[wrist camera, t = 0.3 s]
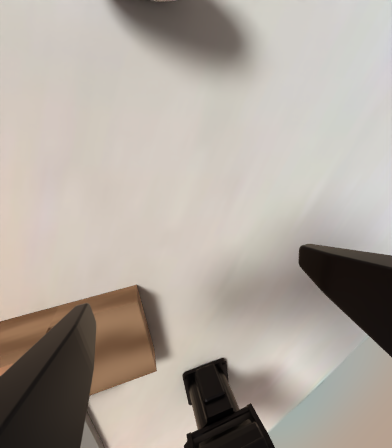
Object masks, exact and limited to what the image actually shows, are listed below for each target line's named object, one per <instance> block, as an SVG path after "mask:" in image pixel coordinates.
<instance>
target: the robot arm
mask: <svg viewBox="0 0 392 448" xmlns="http://www.w3.org/2000/svg"><path fill="white" fill-rule="evenodd" d="M299 265H300V267H301V268H302V269H303V271H304V272H305V273H306V274H307V275H308V276H309V277H310V278H311V279H312V281H313V282H314V283H315V284H316V285H317V286H318V287H319V288H320V290H321V291H322V292H323V293H324V294H325V295H326V296H327V297H328V298H329V299H330V300H331V301H333V302H334V303H335V304H336V305H337V306H338V307H339V308H340V309H341V310H342V311H343V312H344V313H345V314H346V315H347V316H348V317H350V318H351V319H352V320H353V321H354V322H355V323H356V324H357V325H358V326H359V327H360V328H361V329H362V330H363V331H364V332H365V333H367V334H368V335H369V336H370V337H371V338H372V339H373V340H374V341H375V342H376V343H377V344H378V345H379V346H380V347H381V348H383V349H384V350H385V351H386V352H387V353H388V354H389V355H390V356H391V357H392V256H391V255H384V254H377V253H370V252H363V251H356V250H349V249H342V248H335V247H328V246H321V245H314V244H306V245H302V246H301V247H300V248H299ZM95 343H96V320H95V317H94V314H93V312H92V309H91V306H90V304H89V303H84V304H80V305H77V306H75V307H74V308H73V309H72V310H71V311H70V312H69V313H68V314H66V315H65V316H64V317H63V318H62V319H61V320H60V321H59V322H58V323H57V324H56V325H55V326H54V327H53V328H51V329H50V330H49V331H48V332H47V333H46V334H45V335H44V336H43V337H42V338H41V339H40V340H39V341H38V342H36V343H35V344H34V345H33V346H32V347H31V348H30V349H29V350H28V351H27V352H26V353H25V354H24V355H23V356H21V357H20V358H19V359H18V360H17V361H16V362H15V363H14V364H13V365H12V366H11V367H10V368H9V369H8V370H6V371H5V372H4V373H3V374H2V375H1V376H0V448H80V447H81V442H82V436H83V430H84V424H85V418H86V413H87V407H88V401H89V395H90V389H91V384H92V378H93V371H94V360H95ZM183 380H184V385H185V390H186V394H187V399H188V403H189V405H192V407H193V411H194V415H195V419H196V424H197V428H198V430H197V431H194V432H192V433H191V432H190V433H188V434H187V442H186V444H185V445H184V448H275V447H274V445H273V443H272V441H271V439H270V437H269V435H268V433H267V431H266V429H265V428H264V426H263V424H262V422H261V420H260V419H259V417H258V415H257V413H256V412H255V410H254V408H253V406H252V404H251V403H250V404H248V405H247V406H246V407H244V408H242V409H239V407H238V405H237V402H236V400H235V397H234V395H233V393H232V390H231V388H230V386H229V383H228V374H227V365H226V361H225V359H224V358H222V359H220V360H217V361H214V362H212V363H209V364H206V365H204V366H201V367H198V368H196V369H193V370H190V371H188V372H185V373H184V374H183Z"/></svg>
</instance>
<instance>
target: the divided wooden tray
mask: <svg viewBox="0 0 392 448" xmlns="http://www.w3.org/2000/svg"><path fill="white" fill-rule="evenodd" d="M84 303H89V304H90V306H91V309H92V312H93V314H94V317H95V320H96V343H95V360H94V371H93V378H92V384H91V389H90V395H92V394H95V393H98V392H101V391H103V390H106V389H109V388H112V387H114V386H117V385H120V384H123V383H125V382H128V381H131V380H134V379H136V378H139V377H142V376H145V375H147V374H150V373H153V372H155V371H157V370H156V361H155V352H154V347H153V343H152V339H151V335H150V332H149V328H148V324H147V321H146V317H145V313H144V310H143V306H142V302H141V299H140V295H139V291H138V287H137V285H134V286H130V287H127V288H123V289H119V290H116V291H112V292H108V293H104V294H101V295H97V296H93V297H90V298H86V299H82V300H79V301H75V302H71V303H67V304H64V305H60V306H56V307H53V308H49V309H45V310H42V311H38V312H34V313H30V314H27V315H23V316H19V317H16V318H12V319H8V320H5V321H1V322H0V368H1V367H4V366H7V365H10V364H13V363H15V362H16V361H17V360H18V359H19V358H20V357H21V356H23V355H24V354H25V353H26V352H27V351H28V350H29V349H30V348H31V347H32V346H33V345H34V344H35V343H36V342H38V341H39V340H40V339H41V338H42V337H43V336H44V335H45V334H46V333H47V332H48V331H49V330H50V329H51V328H53V327H54V326H55V325H56V324H57V323H58V322H59V321H60V320H61V319H62V318H63V317H64V316H65V315H66V314H68V313H69V312H70V311H71V310H72V309H73V308H74V307H75V306H77V305H80V304H84ZM90 395H89V396H90Z"/></svg>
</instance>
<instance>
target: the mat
mask: <svg viewBox="0 0 392 448" xmlns="http://www.w3.org/2000/svg"><path fill="white" fill-rule="evenodd" d="M80 448H104V446H103V444H102V442H101V440H100V438H99V435H98V433H97V431H96V429H95V427H94V425H93V423H92V421H91V419H90V417H89V415H88V413H86V418H85V424H84V430H83V436H82V442H81V447H80Z"/></svg>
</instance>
